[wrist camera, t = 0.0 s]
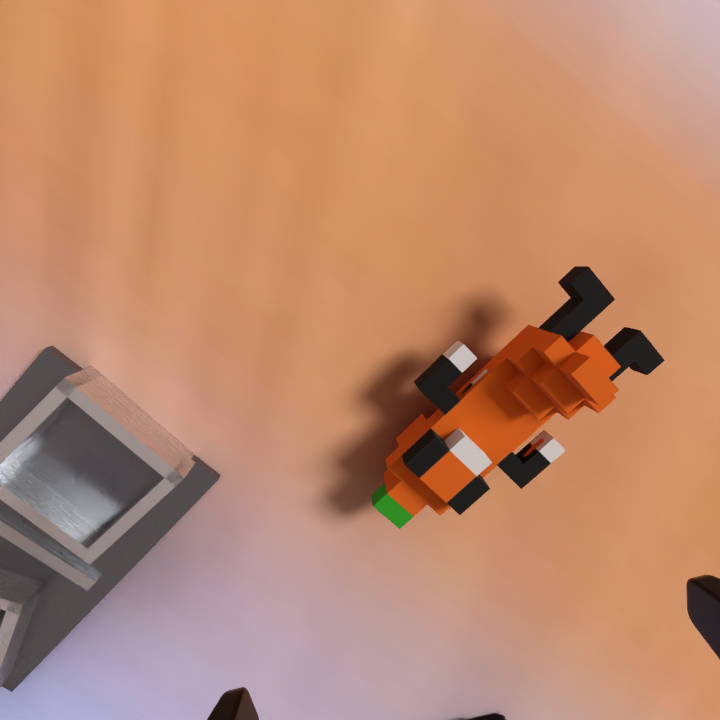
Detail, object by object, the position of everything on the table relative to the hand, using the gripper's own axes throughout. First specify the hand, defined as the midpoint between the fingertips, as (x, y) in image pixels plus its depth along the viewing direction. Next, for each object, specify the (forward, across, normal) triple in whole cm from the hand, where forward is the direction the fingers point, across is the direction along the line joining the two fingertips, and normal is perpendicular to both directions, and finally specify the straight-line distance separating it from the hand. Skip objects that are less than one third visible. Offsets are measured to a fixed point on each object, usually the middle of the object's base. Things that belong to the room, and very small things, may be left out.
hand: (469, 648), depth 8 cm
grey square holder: (+15, +16, -1) cm, 22 cm away
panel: (+15, +22, +3) cm, 26 cm away
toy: (+15, -5, +1) cm, 16 cm away
